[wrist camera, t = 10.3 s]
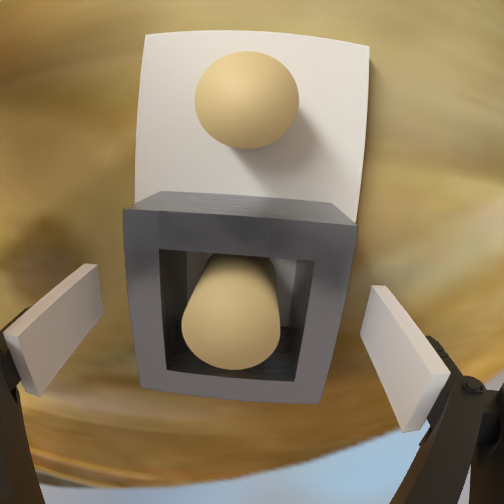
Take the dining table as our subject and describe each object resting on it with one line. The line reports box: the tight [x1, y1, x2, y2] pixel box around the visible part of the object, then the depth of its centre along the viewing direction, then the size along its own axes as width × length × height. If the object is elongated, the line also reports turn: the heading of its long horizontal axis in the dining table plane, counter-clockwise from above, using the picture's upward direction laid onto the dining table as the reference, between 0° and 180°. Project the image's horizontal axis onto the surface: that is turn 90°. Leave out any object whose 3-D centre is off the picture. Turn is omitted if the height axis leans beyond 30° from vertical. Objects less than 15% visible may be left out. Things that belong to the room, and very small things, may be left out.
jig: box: [135, 30, 369, 370], centre depth 14 cm, size 18×12×7 cm, turn 176°
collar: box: [123, 191, 358, 404], centre depth 15 cm, size 9×9×5 cm
